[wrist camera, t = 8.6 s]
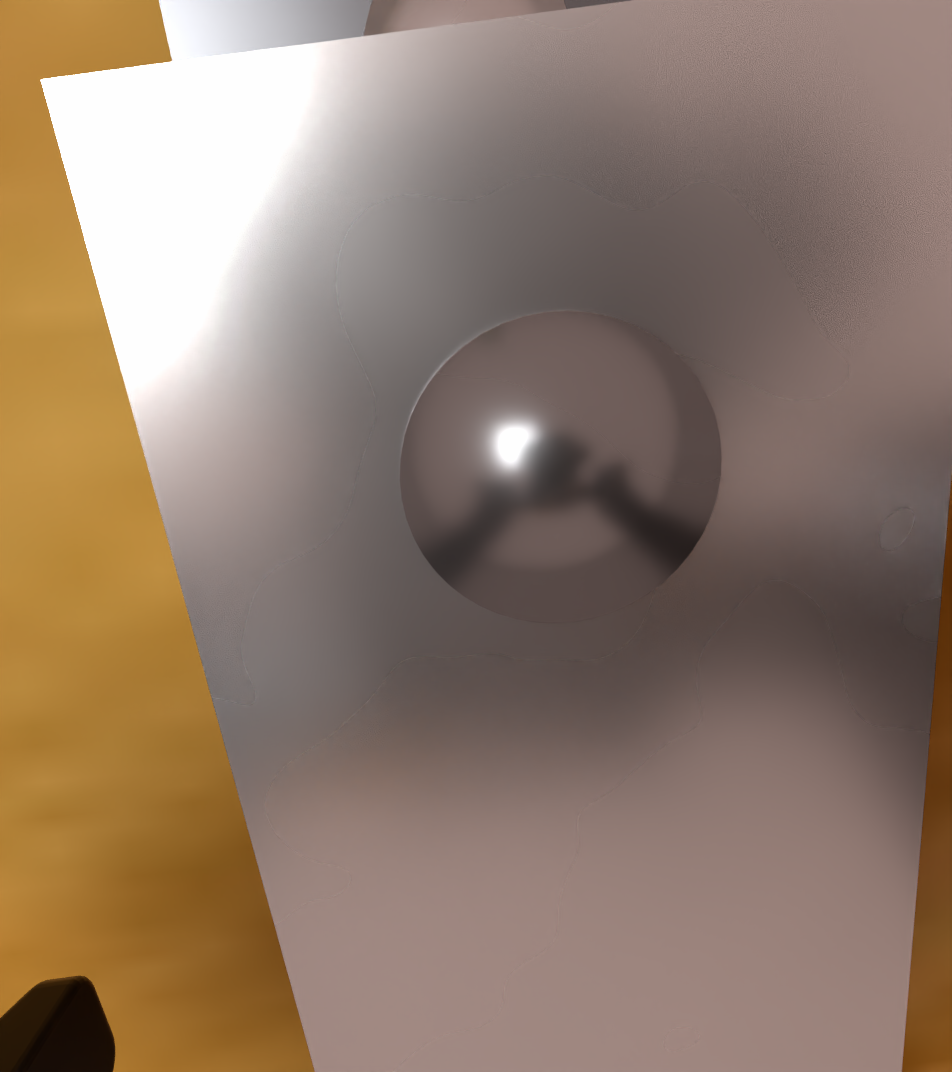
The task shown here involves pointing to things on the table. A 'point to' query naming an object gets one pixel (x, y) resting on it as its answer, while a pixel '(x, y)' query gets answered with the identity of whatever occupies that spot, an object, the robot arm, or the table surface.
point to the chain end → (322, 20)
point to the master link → (557, 509)
